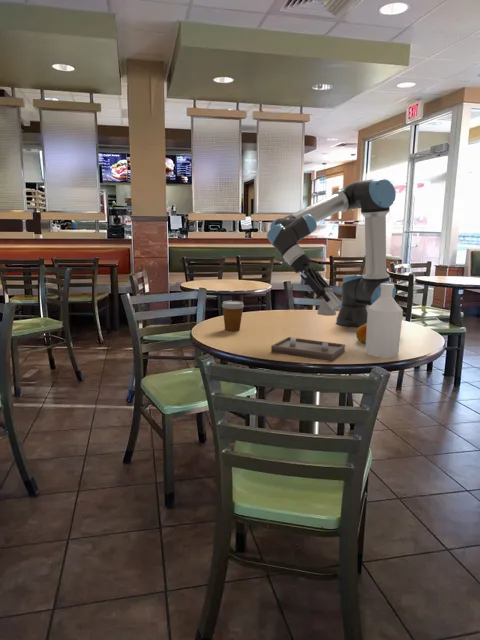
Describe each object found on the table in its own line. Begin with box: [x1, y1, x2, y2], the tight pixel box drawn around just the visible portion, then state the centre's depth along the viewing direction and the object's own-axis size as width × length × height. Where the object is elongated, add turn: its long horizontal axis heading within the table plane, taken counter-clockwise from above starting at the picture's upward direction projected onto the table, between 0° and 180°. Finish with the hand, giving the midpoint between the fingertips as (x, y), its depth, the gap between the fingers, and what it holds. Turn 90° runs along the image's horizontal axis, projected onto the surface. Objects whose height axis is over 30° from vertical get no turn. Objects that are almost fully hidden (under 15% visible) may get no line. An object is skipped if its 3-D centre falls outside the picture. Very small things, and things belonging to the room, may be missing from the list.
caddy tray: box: [270, 336, 346, 362], centre depth 167 cm, size 16×22×4 cm
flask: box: [316, 287, 337, 317], centre depth 174 cm, size 7×7×10 cm
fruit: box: [355, 323, 367, 344], centre depth 183 cm, size 8×8×8 cm
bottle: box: [364, 283, 404, 359], centre depth 165 cm, size 12×12×25 cm
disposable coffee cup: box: [221, 300, 245, 332], centre depth 200 cm, size 10×10×12 cm
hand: (337, 306), depth 173 cm, fingers closed on flask, 4 cm apart
